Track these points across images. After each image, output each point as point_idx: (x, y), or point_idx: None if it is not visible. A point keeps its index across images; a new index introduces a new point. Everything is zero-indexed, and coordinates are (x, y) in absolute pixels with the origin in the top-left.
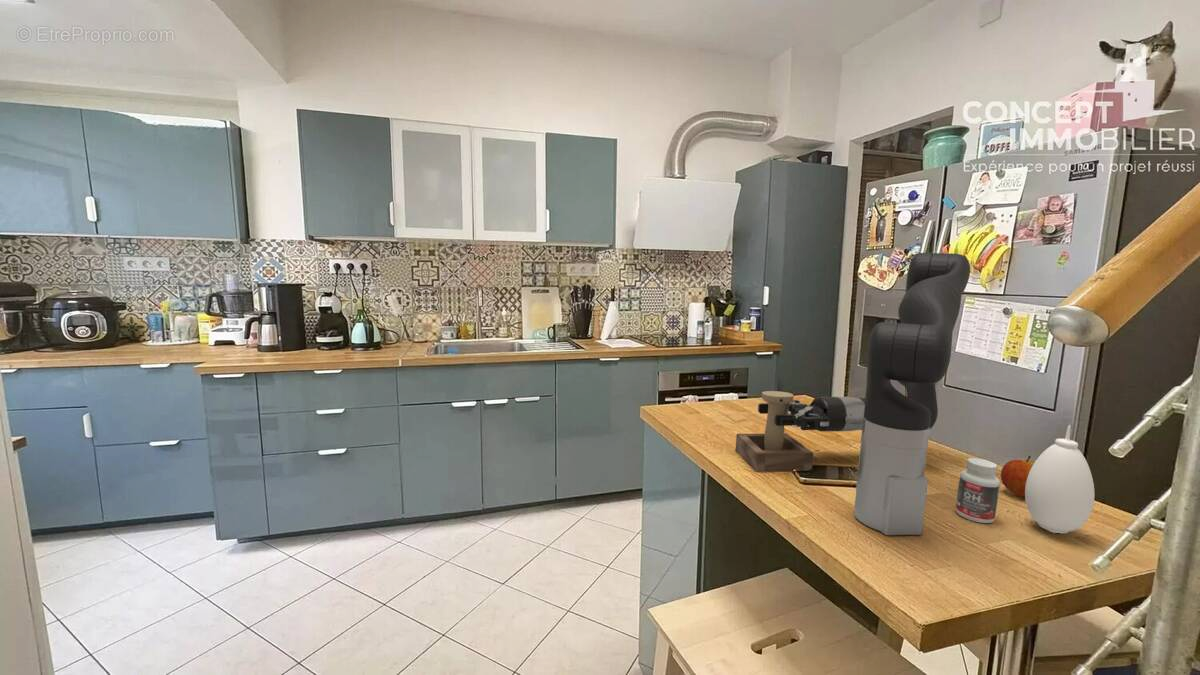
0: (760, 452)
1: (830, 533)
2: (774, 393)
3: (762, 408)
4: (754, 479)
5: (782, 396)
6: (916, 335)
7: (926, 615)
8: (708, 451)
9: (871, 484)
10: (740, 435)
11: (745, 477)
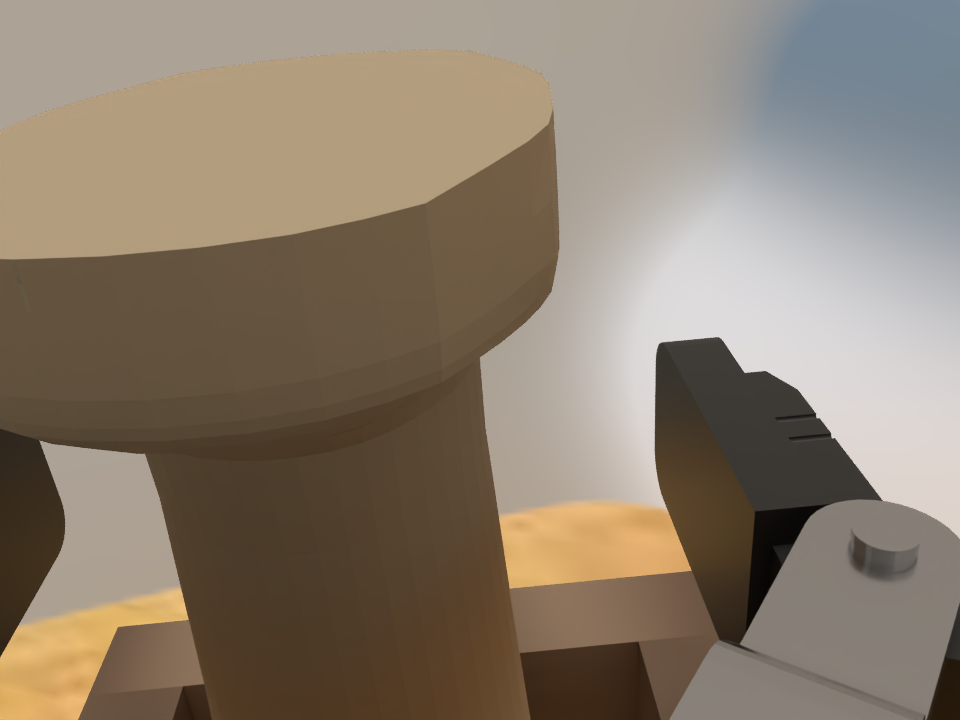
0: (128, 656)
1: None
2: (316, 100)
3: (664, 426)
4: (41, 713)
5: (8, 143)
6: None
7: None
8: (619, 529)
9: None
10: (648, 590)
11: (101, 663)
